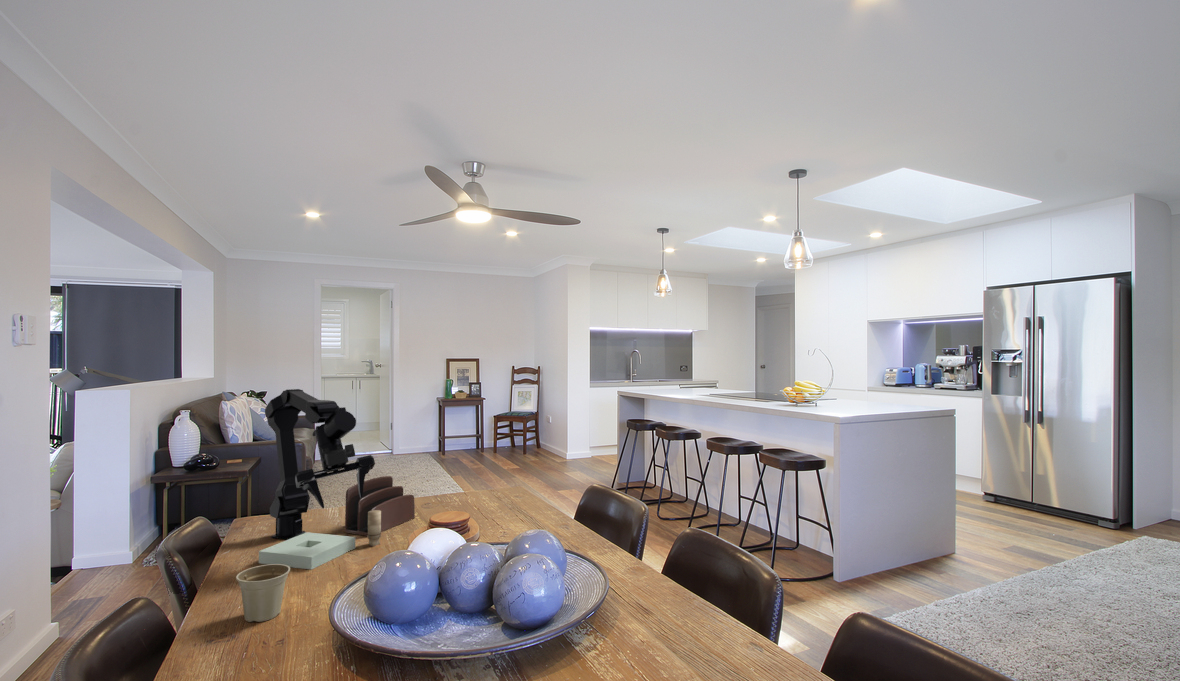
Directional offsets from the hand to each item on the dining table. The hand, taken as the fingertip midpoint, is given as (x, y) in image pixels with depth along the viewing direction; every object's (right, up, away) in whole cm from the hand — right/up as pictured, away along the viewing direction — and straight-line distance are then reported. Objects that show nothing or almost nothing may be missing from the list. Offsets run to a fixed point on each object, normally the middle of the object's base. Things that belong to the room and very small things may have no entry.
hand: (342, 502), depth 144 cm
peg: (+4, -15, +11) cm, 19 cm away
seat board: (-10, -15, +3) cm, 18 cm away
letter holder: (-1, -16, +29) cm, 33 cm away
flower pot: (-2, -14, -32) cm, 35 cm away
